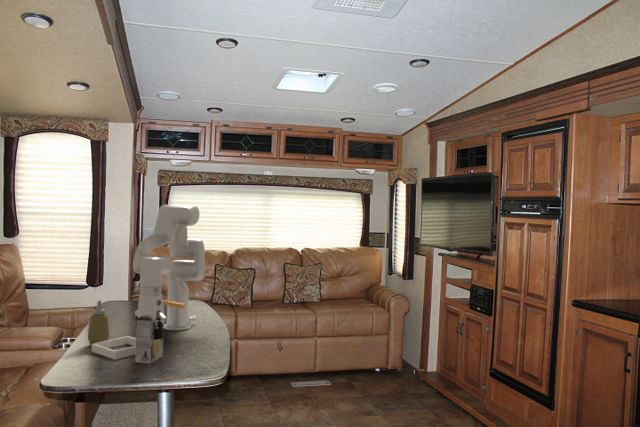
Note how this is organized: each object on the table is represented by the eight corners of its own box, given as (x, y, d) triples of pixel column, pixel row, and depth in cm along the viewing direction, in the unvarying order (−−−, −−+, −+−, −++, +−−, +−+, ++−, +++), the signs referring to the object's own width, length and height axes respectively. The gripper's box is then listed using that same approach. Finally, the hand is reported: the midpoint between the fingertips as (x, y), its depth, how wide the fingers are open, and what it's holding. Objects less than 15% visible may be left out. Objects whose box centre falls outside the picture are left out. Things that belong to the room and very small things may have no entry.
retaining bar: (147, 301, 202) (147, 298, 202) (154, 300, 205) (154, 297, 205) (180, 308, 190) (180, 304, 190) (186, 307, 193) (187, 303, 193)
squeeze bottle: (85, 348, 193) (86, 302, 193) (89, 343, 201) (90, 299, 201) (107, 347, 195) (108, 302, 195) (110, 342, 203) (111, 298, 203)
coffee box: (147, 355, 187) (148, 313, 187) (163, 356, 186) (164, 314, 186) (134, 362, 178) (135, 318, 178) (150, 363, 177) (151, 319, 177)
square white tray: (143, 339, 208) (144, 300, 208) (167, 346, 199) (168, 304, 199) (91, 351, 189) (92, 308, 189) (115, 359, 180) (116, 314, 180)
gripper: (174, 292, 179) (173, 338, 180) (145, 286, 189) (144, 331, 189) (156, 294, 173) (155, 343, 173) (127, 289, 183) (126, 334, 183)
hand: (149, 336), depth 181 cm, fingers open, 9 cm apart
